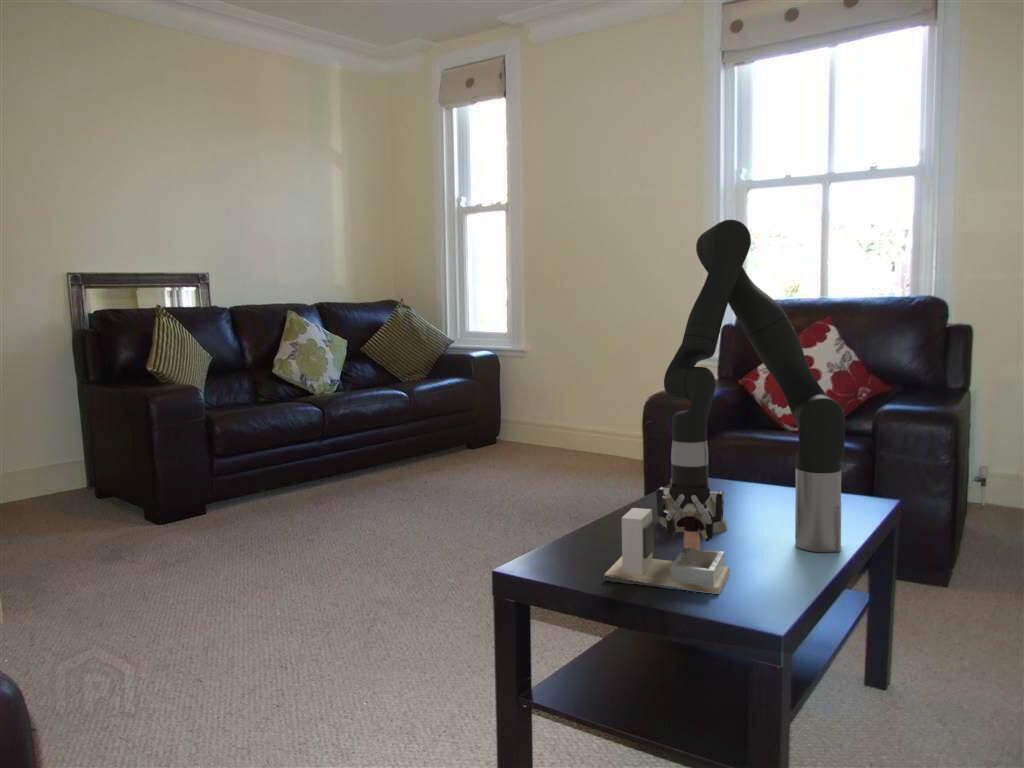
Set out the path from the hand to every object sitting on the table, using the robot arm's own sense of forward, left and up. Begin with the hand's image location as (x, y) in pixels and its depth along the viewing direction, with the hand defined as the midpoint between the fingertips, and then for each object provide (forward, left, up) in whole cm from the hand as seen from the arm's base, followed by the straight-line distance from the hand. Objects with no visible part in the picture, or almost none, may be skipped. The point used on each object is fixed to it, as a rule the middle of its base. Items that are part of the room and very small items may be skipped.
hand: (690, 538), depth 167 cm
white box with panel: (+7, +13, -3) cm, 15 cm away
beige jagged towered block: (+5, -26, -5) cm, 27 cm away
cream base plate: (+2, +13, -4) cm, 14 cm away
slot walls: (-4, +13, -3) cm, 14 cm away
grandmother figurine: (0, 0, -5) cm, 5 cm away
